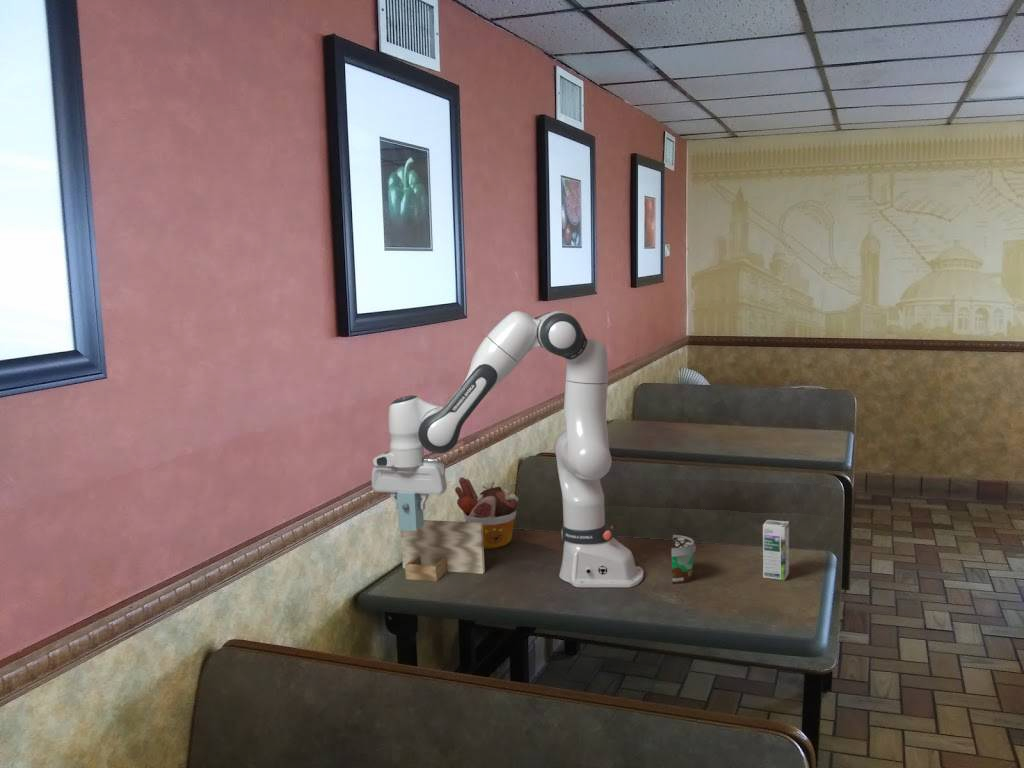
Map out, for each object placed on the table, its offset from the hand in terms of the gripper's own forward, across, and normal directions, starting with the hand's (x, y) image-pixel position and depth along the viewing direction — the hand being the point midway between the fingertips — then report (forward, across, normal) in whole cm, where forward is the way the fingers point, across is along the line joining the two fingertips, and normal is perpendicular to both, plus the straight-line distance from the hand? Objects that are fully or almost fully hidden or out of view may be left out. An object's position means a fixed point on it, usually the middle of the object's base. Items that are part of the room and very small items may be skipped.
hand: (410, 509), depth 247 cm
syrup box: (+21, -92, -25) cm, 98 cm away
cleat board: (+21, -3, -9) cm, 23 cm away
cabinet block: (+5, 0, 0) cm, 5 cm away
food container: (+21, -69, -19) cm, 75 cm away
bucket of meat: (+21, -8, -38) cm, 44 cm away
